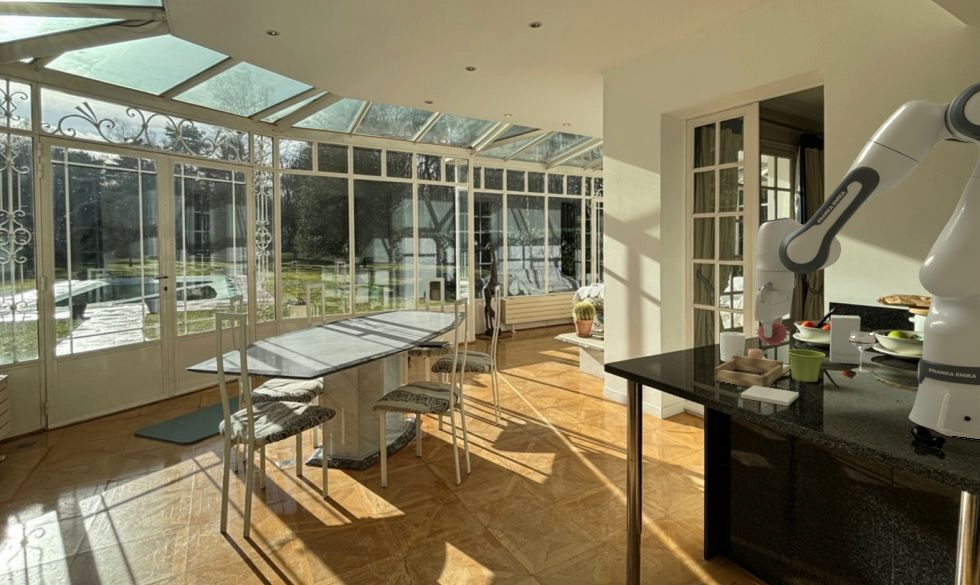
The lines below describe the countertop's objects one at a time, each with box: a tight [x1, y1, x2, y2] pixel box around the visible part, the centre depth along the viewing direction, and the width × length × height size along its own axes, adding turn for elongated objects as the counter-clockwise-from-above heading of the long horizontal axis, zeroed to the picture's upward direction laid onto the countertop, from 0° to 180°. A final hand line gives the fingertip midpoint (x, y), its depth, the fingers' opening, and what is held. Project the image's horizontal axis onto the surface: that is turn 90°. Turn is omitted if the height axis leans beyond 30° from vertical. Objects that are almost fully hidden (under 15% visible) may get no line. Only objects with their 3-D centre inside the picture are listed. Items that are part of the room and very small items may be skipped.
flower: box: [755, 321, 791, 346], centre depth 134 cm, size 8×8×6 cm
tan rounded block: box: [746, 347, 764, 359], centre depth 167 cm, size 4×4×5 cm
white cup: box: [719, 331, 746, 363], centre depth 174 cm, size 8×8×10 cm
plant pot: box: [786, 349, 826, 383], centre depth 149 cm, size 9×9×9 cm
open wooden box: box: [713, 355, 784, 388], centre depth 153 cm, size 14×17×5 cm
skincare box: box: [829, 314, 862, 365], centre depth 174 cm, size 8×7×16 cm
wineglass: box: [849, 330, 876, 374], centre depth 162 cm, size 7×7×12 cm
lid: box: [783, 362, 791, 375], centre depth 166 cm, size 14×16×1 cm
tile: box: [740, 385, 800, 407], centre depth 136 cm, size 11×11×1 cm
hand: (772, 335), depth 134 cm, fingers closed on flower, 6 cm apart
